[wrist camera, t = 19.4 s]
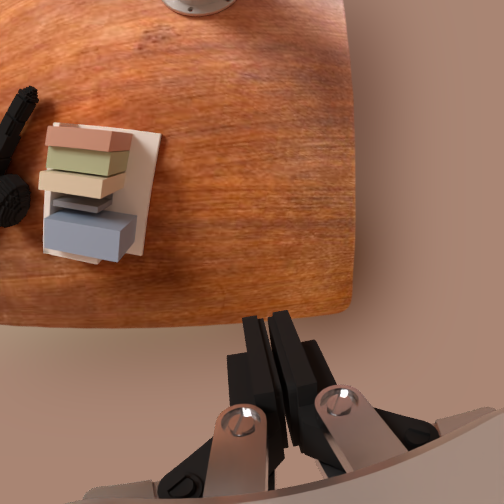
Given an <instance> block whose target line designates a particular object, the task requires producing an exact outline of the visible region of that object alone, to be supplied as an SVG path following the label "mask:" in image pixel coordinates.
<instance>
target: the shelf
mask: <svg viewBox="0 0 504 504" xmlns="http://www.w3.org/2000/svg"><path fill="white" fill-rule="evenodd" d="M161 136H162V134H159V133H152V132H144V131H137V130H129V129H120V128H111V127H101V126H90V125H78V124H68V123H55V122H54V124H53V126H48V129H47V135H46V142H45V145H47V146H49V147H48V155H47V163H46V168H47V170H45V171H40V175H39V187H38V189H39V190H45V198H44V218H46V217H48V216H50V215H52V214H54V213H56V212H58V211H60V210H62V209H64V208H70V209H76V210H82V211H87V212H93V213H99V212H100V211H102V210H106V211H113V212H119V213H125V214H131V215H137V223H136V232H135V242H134V243H133V244H132V245H131V247H130V248H129V249H128V250H127V252H126V253H128V254H134V255H139V256H142V255H143V250H144V241H145V233H146V225H147V218H148V210H149V204H150V197H151V191H152V184H153V178H154V173H155V167H156V162H157V156H158V151H159V146H160V141H161ZM43 253H47V254H51V255H56V256H60V257H65V258H69V259H74V260H78V261H83V262H88V263H93V264H98V263H99V262H100V261H101V260H102V259H98V258H93V257H87V256H82V255H77V254H72V253H67V252H62V251H57V250H52V249H47V248H44V219H43Z"/></svg>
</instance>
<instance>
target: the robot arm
mask: <svg viewBox="0 0 504 504" xmlns="http://www.w3.org/2000/svg"><path fill="white" fill-rule="evenodd" d="M162 1H163V2H164V4H165V5H166V6H167V7H168V8H169V9H171V10H173V11H175V12H176V13H179V14H182V15H188V16H205V15H211V14H214V13H217V12H220V11H222V10H224V9H226V8H227V7H229V6H231V5H232V4H233V3H234V2H235V1H236V0H162ZM227 1H229V2H227ZM191 10H192V12H189V11H191ZM242 321H243V328H244V334H245V341H246V347H247V352H245V353H239V354H233V355H227V369H228V384H229V397H230V407H228V408H227V409H225V410H224V411H222V412H221V413H220V415H219V416H218V417H217V420H216V423H215V429H214V434H213V437H212V438H211V439H209V440H208V441H207V442H206V443H205V444H204V445H203V446H201V447H200V448H199V449H198V450H196V451H195V452H194V453H193V454H192V455H190V456H189V457H188V458H187V459H185V460H184V461H183V462H182V463H180V464H179V465H178V466H177V467H175V468H174V469H173V470H172V471H170V472H169V473H168V474H166V475H165V476H164V477H163V478H162V479H161V481H157V482H152V480H147V481H141V482H134V483H127V484H120V485H112V486H103V487H96V488H93V489H91V490H89V491H88V492H86V494H85V495H84V497H83V500H79V501H75V502H70V503H66V504H504V408H501V409H499V410H495V409H494V408H490V407H484V408H479V409H476V410H473V411H469V412H466V413H462V414H458V415H455V416H451V417H447V418H443V419H438V420H436V421H435V423H434V424H430V423H428V422H425V421H422V420H418V419H414V418H410V417H406V416H402V415H398V414H395V413H391V412H388V411H384V410H381V409H377V408H374V407H372V406H371V404H370V403H369V402H368V401H367V399H366V398H365V397H364V396H363V394H362V393H361V392H360V391H359V390H357V389H356V388H354V387H351V386H348V385H337V384H336V382H335V380H334V378H333V375H332V374H331V371H330V369H329V367H328V365H327V363H326V361H325V359H324V356H323V355H322V352H321V350H320V348H319V346H318V344H317V342H316V341H315V340H310V341H305V342H300V339H299V337H298V334H297V332H296V329H295V327H294V325H293V322H292V320H291V317H290V315H289V312H288V310H284V311H278V312H273V316H272V317H268V325H269V333H270V340H271V347H270V343H269V339H268V335H267V331H266V327H265V323H264V320H263V318H261V319H257V315H256V316H250V317H244V318H242ZM271 348H272V350H271ZM285 417H286V420H287V424H288V428H289V432H290V436H291V440H292V443H293V446H298V445H299V447H300V451H301V453H304V454H305V455H308V456H310V457H312V458H315V462H316V465H317V467H318V469H319V471H320V472H321V474H322V476H323V478H324V480H320V481H316V482H311V483H307V484H303V485H298V486H293V487H288V488H282V489H277V490H276V468H277V466H278V465H279V464H280V463H281V462H282V461H283V460H284V458H285V457H284V448H288V440H287V431H286V421H285Z"/></svg>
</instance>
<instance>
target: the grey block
mask: <svg viewBox="0 0 504 504" xmlns="http://www.w3.org/2000/svg"><path fill="white" fill-rule="evenodd" d="M136 223H137V215H131V214H125V213H119V212H113V211H106V210H102V211H100V212H99V213H93V212H87V211H82V210H76V209H70V208H64V209H62V210H60V211H58V212H56V213H54V214H52V215H50V216H48V217H46V218H44V248H47V249H52V250H57V251H62V252H67V253H72V254H77V255H82V256H87V257H93V258H98V259H103V260H108V261H114V262H119V260H120V259H121V258H122V257H123V255H124V254H125V253H126V252H127V250H128V249H129V248H130V247H131V245H132V244H133V243H134V242H135V232H136Z"/></svg>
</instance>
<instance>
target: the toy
mask: <svg viewBox="0 0 504 504" xmlns="http://www.w3.org/2000/svg"><path fill="white" fill-rule="evenodd" d="M37 91H38V90H37V89H36V88H34V87H32V86H29V87H26V88H24V89H23V90H22V89H19V91H18V93H19V94H16V96H15V98H14V100H13V101H12V103H11V105H10V107H9V108H8V111H7V112H6V114H5V116H4V118H3V120H2V122H1V124H0V227H1V226H2V227H4V228H5V227H10V226H13V225H16V224H19V222H20V221H21V220H22V219H23V218H24V217H25V216H26V214H27V212H28V209H29V207H30V201H31V200H30V199H31V198H30V194H31V192H30V191H29V190H30V189H29V186H28V185H27V184H26V183H25V182H24V181H23V180H22V179H21V177H20V176H18V175H17V174H15V175H13V174H7V175H4V174H5V172H6V170H7V168H8V165H9V163H10V161H11V158H10V157H11V156H12V154H13V152H14V150H15V148H16V146H17V144H18V142H19V140H20V138H21V137H20V136H19V135H20V133H21V131H22V129H23V127H24V125H25V123H26V121H27V120H28V118H29V117H30V115H31V113H32V112H33V110H34V108H35V107H36V103H38V102H39V99H38V98H37V97H38V95H37Z"/></svg>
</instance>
